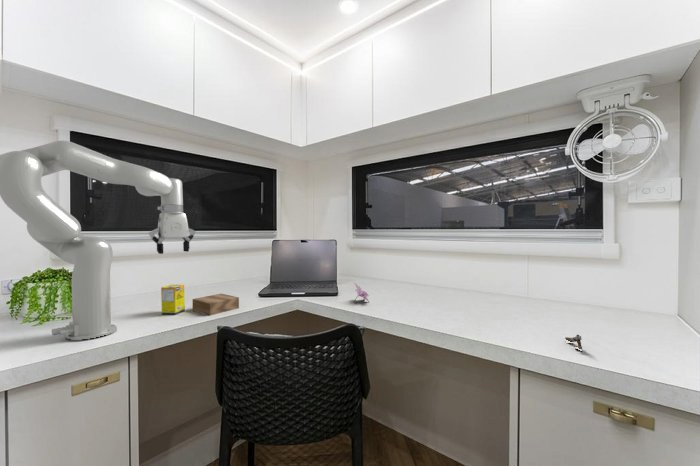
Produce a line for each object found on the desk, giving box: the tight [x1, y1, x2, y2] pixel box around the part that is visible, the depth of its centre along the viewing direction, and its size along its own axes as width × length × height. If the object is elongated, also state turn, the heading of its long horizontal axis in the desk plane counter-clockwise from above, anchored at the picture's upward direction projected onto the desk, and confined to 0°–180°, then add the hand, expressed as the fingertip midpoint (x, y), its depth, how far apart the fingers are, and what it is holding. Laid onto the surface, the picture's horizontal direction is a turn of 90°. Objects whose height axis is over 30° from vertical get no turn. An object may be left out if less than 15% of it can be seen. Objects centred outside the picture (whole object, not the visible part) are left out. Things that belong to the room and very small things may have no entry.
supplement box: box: [160, 284, 186, 316], centre depth 124 cm, size 6×6×11 cm
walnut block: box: [191, 293, 240, 316], centre depth 130 cm, size 13×13×5 cm
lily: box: [352, 281, 370, 303], centre depth 142 cm, size 11×11×9 cm
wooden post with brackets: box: [564, 334, 583, 350], centre depth 89 cm, size 2×8×5 cm, turn 165°
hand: (173, 252), depth 124 cm, fingers open, 9 cm apart
